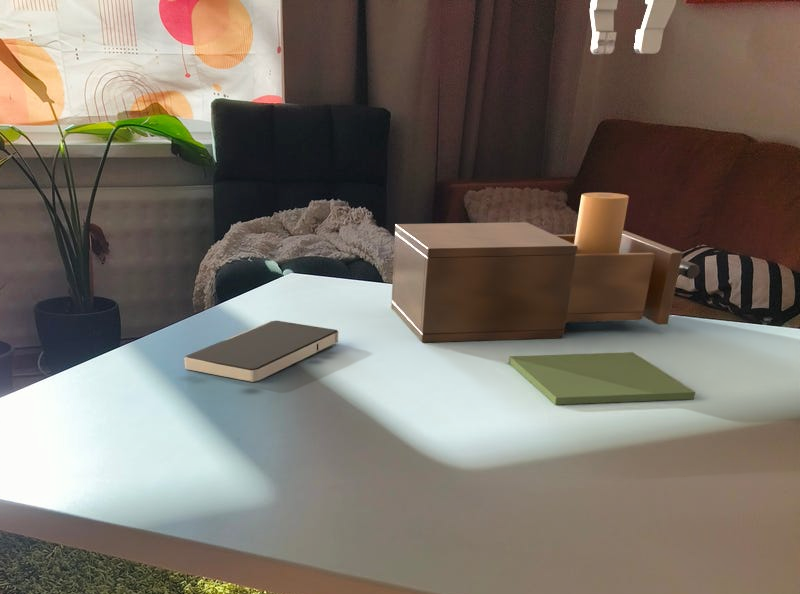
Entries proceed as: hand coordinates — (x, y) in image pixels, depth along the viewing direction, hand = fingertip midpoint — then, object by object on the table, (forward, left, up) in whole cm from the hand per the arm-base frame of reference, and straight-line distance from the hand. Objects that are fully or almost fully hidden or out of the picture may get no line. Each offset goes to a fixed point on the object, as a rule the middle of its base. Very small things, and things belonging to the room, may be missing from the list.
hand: (622, 54), depth 82 cm
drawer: (-2, -1, -23) cm, 23 cm away
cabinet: (+12, -1, -24) cm, 27 cm away
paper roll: (-1, -1, -22) cm, 22 cm away
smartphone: (+35, +9, -24) cm, 43 cm away
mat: (+7, +20, -24) cm, 32 cm away
